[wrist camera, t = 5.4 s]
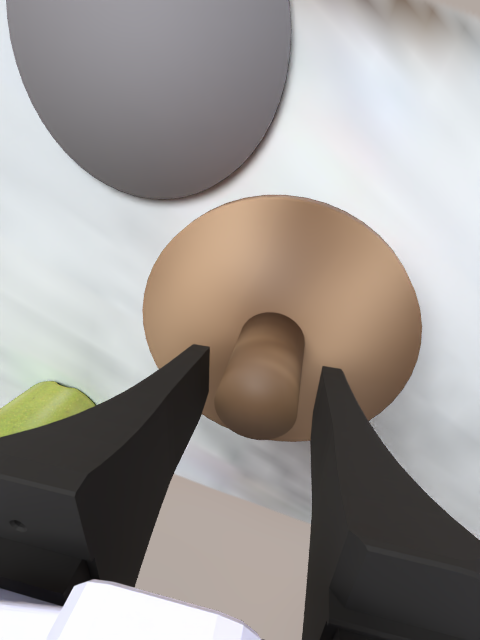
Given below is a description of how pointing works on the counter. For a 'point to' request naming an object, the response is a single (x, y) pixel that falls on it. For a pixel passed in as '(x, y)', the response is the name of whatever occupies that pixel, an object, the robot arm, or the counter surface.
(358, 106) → the counter surface
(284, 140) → the counter surface
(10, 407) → the plant pot
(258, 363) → the lid
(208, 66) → the mat
